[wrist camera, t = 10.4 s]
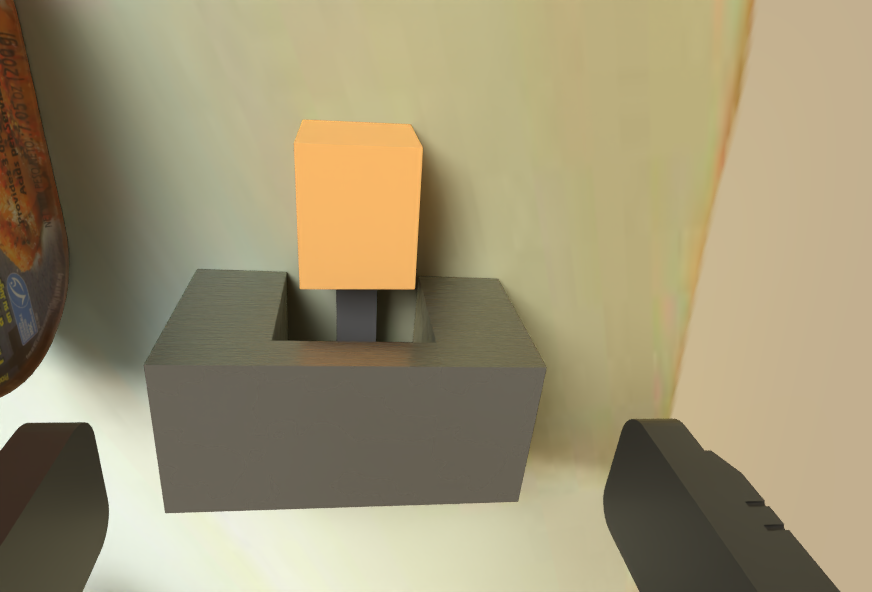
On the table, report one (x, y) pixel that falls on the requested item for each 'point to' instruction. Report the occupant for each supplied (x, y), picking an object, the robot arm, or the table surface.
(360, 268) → the plug
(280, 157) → the table surface
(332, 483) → the housing
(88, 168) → the table surface
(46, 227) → the tin
